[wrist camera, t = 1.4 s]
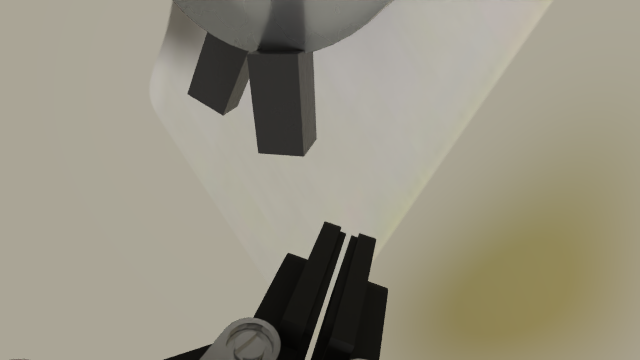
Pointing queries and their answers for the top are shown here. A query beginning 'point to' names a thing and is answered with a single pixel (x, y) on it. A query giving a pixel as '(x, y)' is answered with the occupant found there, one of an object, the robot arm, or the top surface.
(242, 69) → the cooker pot
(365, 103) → the top surface
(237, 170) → the top surface
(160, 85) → the top surface
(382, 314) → the robot arm
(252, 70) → the cooker lid
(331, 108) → the top surface
